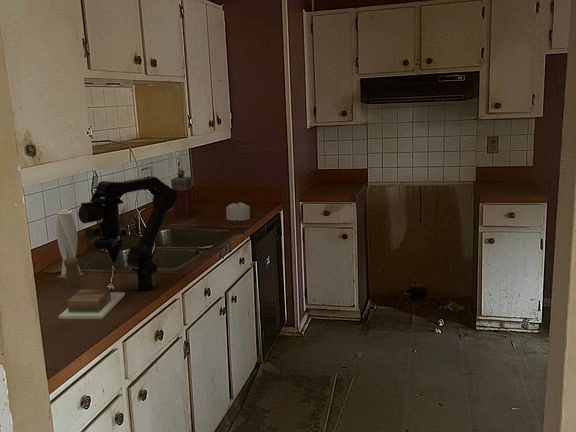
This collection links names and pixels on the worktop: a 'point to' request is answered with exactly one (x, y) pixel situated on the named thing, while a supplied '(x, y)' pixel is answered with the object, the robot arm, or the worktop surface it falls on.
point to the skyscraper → (66, 237)
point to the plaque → (89, 301)
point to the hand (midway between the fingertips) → (114, 261)
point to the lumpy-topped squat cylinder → (238, 211)
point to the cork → (72, 273)
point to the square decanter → (182, 196)
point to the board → (114, 300)
